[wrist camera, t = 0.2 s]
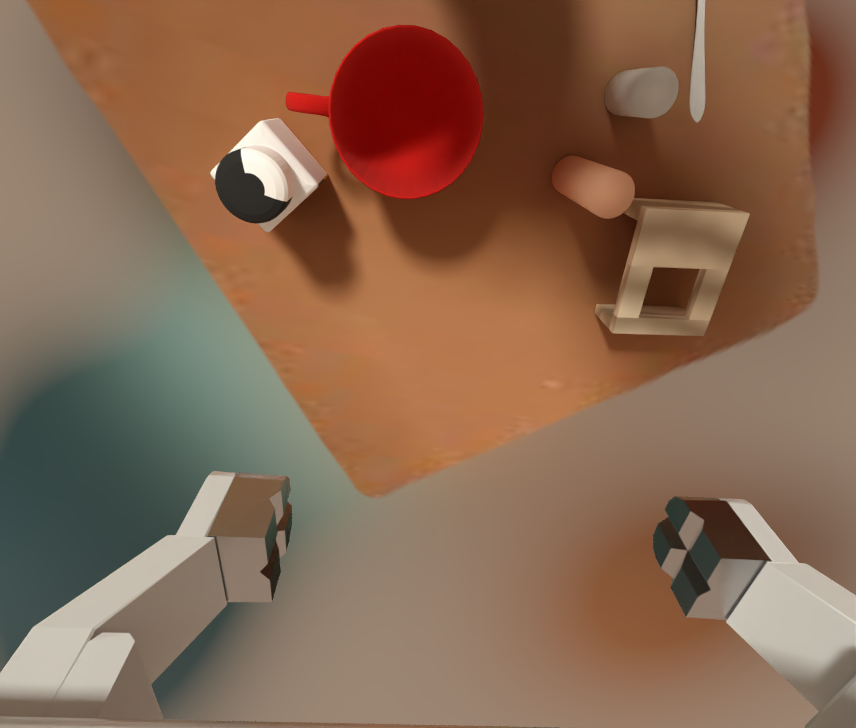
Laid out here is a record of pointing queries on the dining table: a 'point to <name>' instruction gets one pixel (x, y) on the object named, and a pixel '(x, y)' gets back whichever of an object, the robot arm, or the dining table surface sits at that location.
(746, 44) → the dining table surface
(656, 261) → the bridge
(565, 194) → the long dowel
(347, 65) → the ceramic cup
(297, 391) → the dining table surface
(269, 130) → the medicine bottle
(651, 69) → the short dowel
